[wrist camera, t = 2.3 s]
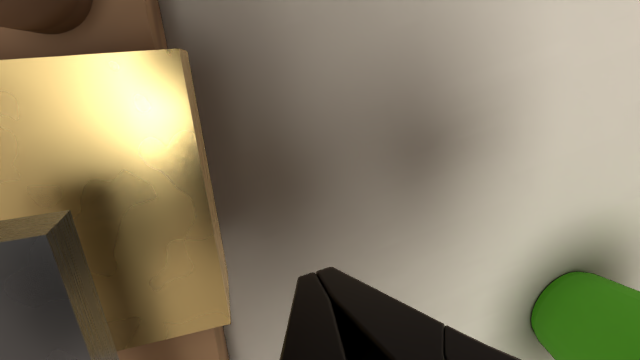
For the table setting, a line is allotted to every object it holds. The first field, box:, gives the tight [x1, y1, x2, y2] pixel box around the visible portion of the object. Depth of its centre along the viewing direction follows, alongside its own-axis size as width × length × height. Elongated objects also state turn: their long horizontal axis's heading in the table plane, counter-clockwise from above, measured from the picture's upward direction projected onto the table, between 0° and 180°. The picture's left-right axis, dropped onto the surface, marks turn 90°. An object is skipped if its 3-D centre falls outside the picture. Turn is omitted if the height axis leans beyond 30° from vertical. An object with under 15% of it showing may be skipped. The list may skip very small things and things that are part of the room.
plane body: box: [0, 0, 229, 360], centre depth 11 cm, size 19×4×7 cm, turn 4°
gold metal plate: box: [0, 48, 231, 351], centre depth 9 cm, size 7×6×2 cm
